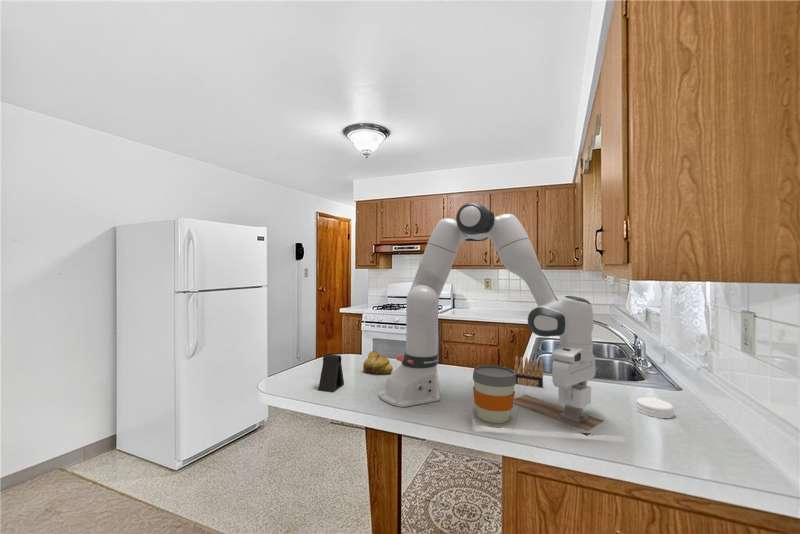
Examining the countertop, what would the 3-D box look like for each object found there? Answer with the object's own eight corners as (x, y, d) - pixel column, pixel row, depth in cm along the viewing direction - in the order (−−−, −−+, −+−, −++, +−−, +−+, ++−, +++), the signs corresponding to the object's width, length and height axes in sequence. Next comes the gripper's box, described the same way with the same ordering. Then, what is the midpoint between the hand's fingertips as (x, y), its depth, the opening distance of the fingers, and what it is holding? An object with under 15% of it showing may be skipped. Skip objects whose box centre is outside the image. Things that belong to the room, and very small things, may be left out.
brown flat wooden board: (587, 435, 101) (588, 405, 101) (506, 405, 122) (507, 380, 121) (604, 425, 108) (605, 396, 108) (525, 398, 128) (526, 374, 128)
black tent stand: (333, 392, 130) (334, 358, 130) (318, 390, 131) (318, 357, 131) (344, 384, 138) (345, 353, 138) (329, 382, 140) (330, 351, 140)
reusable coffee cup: (509, 434, 101) (511, 380, 101) (465, 423, 107) (467, 372, 107) (518, 418, 112) (520, 369, 112) (478, 409, 118) (479, 362, 118)
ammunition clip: (543, 390, 138) (544, 358, 138) (542, 391, 136) (543, 359, 136) (513, 385, 142) (514, 355, 142) (512, 387, 141) (513, 356, 140)
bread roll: (396, 372, 156) (397, 353, 156) (383, 378, 148) (384, 358, 148) (372, 367, 163) (372, 349, 163) (358, 372, 155) (359, 353, 155)
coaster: (628, 409, 122) (629, 398, 122) (649, 405, 126) (650, 395, 126) (659, 421, 113) (659, 409, 113) (680, 417, 117) (681, 406, 117)
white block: (580, 408, 105) (581, 389, 105) (558, 401, 110) (558, 383, 110) (590, 403, 110) (591, 384, 109) (568, 396, 115) (569, 378, 115)
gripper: (581, 344, 119) (580, 387, 119) (548, 353, 106) (547, 401, 106) (601, 348, 114) (600, 392, 114) (570, 358, 101) (568, 408, 101)
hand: (574, 397), depth 110 cm, fingers closed on white block, 7 cm apart
